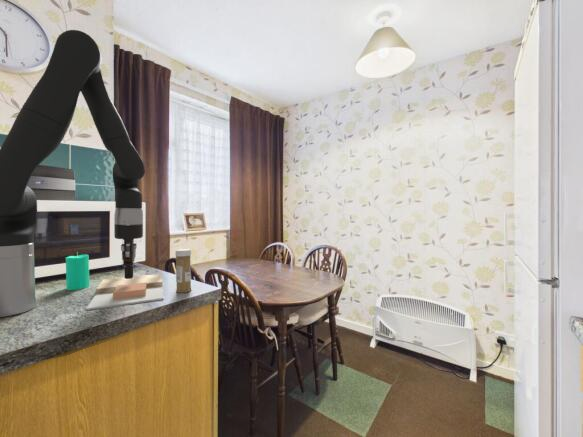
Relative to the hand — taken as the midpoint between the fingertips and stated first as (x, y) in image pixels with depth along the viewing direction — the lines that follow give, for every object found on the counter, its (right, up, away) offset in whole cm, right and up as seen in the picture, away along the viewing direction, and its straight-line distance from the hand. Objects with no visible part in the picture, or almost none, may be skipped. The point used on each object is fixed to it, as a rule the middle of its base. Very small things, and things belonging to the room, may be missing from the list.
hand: (128, 278), depth 82 cm
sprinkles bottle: (+16, -5, +2) cm, 17 cm away
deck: (-3, -4, +7) cm, 9 cm away
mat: (+3, -5, -4) cm, 7 cm away
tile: (+2, -4, -2) cm, 5 cm away
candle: (-21, -5, +6) cm, 22 cm away
